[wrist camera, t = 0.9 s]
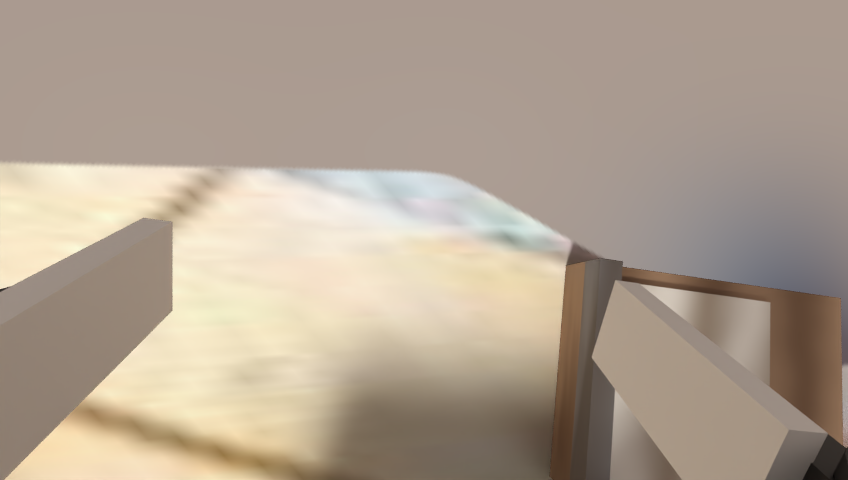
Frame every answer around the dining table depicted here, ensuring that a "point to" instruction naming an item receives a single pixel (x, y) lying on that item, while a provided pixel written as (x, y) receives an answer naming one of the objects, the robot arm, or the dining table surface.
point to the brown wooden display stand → (721, 323)
